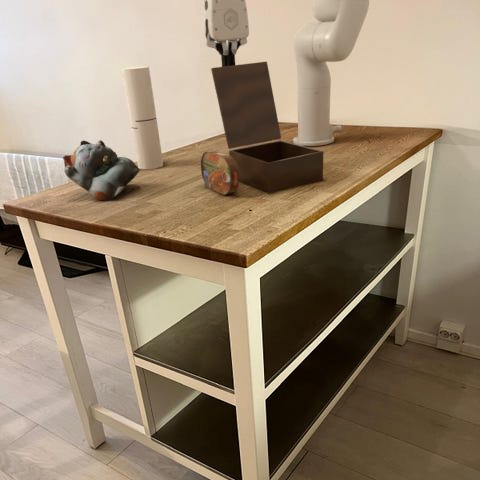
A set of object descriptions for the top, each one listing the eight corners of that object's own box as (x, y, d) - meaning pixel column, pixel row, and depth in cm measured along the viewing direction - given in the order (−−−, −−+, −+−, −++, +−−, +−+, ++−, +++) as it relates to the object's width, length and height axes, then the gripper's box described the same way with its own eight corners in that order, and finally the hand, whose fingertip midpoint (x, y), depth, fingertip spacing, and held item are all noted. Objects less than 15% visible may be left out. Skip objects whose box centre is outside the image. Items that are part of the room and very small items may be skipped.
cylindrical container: (158, 169, 134) (142, 68, 121) (134, 169, 136) (116, 69, 123) (166, 162, 140) (152, 65, 127) (143, 163, 142) (127, 67, 129)
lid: (267, 61, 119) (265, 62, 120) (212, 67, 113) (210, 68, 114) (281, 138, 124) (280, 138, 125) (229, 148, 118) (228, 149, 119)
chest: (323, 180, 114) (323, 151, 111) (268, 193, 109) (267, 163, 105) (281, 166, 128) (280, 140, 124) (231, 177, 122) (229, 150, 119)
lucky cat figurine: (108, 204, 109) (65, 150, 104) (86, 215, 119) (46, 166, 113) (149, 169, 117) (112, 117, 111) (126, 182, 126) (90, 134, 120)
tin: (201, 184, 118) (197, 149, 114) (212, 182, 120) (209, 146, 115) (230, 199, 107) (227, 160, 102) (242, 196, 108) (240, 157, 104)
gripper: (200, -17, 106) (209, 76, 116) (259, -19, 112) (262, 70, 122) (187, -13, 112) (196, 75, 122) (243, -15, 118) (247, 69, 127)
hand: (229, 72), depth 122 cm, fingers closed
